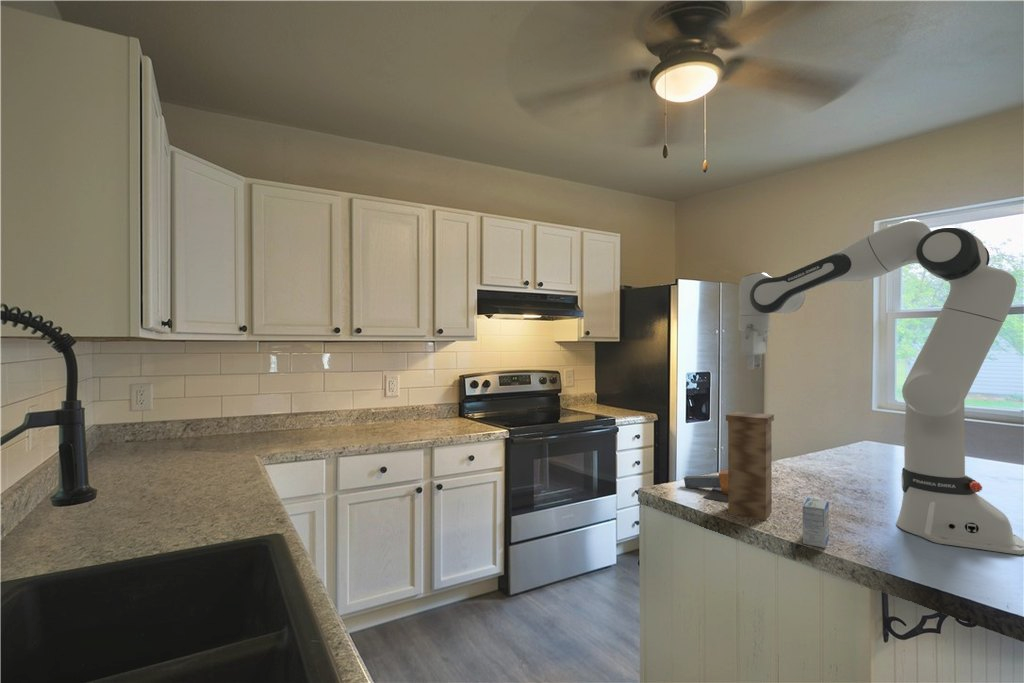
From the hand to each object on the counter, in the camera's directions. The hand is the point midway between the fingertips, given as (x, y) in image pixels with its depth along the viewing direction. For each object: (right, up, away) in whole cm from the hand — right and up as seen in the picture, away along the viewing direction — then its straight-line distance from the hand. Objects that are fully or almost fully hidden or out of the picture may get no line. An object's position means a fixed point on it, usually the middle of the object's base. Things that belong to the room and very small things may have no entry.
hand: (754, 369), depth 154 cm
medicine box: (-7, -37, -43) cm, 57 cm away
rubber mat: (-12, -37, -8) cm, 40 cm away
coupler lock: (-14, -34, -3) cm, 37 cm away
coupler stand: (-13, -37, -24) cm, 46 cm away
